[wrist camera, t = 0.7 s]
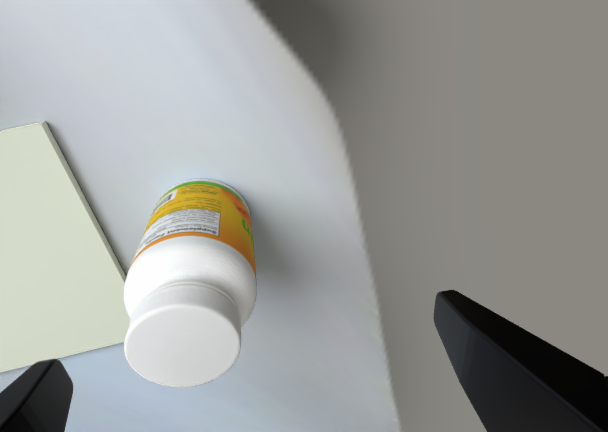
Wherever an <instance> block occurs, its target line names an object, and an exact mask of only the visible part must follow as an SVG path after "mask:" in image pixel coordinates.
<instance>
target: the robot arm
mask: <svg viewBox="0 0 608 432" xmlns="http://www.w3.org/2000/svg"><path fill="white" fill-rule="evenodd" d="M434 323H435V326H436V329H437V331H438V333H439V336H440V338H441V340H442V342H443V345H444V347H445V349H446V352H447V354H448V357H449V359H450V361H451V363H452V366H453V368H454V371H455V373H456V375H457V377H458V379H459V382H460V384H461V385H462V387H463V389H464V391H465V393H466V395H467V397H468V398H469V400H470V402H471V404H472V405H473V407H474V409H475V411H476V412H477V414H478V416H479V418H480V420H481V422H482V423H483V425H484V427H485V429H486V430H487V432H608V376H606V377H605V376H604V374H602V373H601V372H599V371H597V370H596V369H594V368H592V367H590V366H588V365H587V364H585V363H583V362H581V361H580V360H578V359H576V358H574V357H572V356H571V355H569V354H567V353H565V352H563V351H562V350H560V349H558V348H557V347H555V346H553V345H551V344H549V343H548V342H546V341H544V340H542V339H541V338H539V337H537V336H535V335H533V334H531V333H530V332H528V331H526V330H525V329H523V328H521V327H519V326H518V325H516V324H514V323H512V322H510V321H509V320H507V319H505V318H503V317H502V316H500V315H498V314H496V313H494V312H493V311H491V310H489V309H487V308H486V307H484V306H482V305H480V304H478V303H476V302H475V301H473V300H471V299H470V298H468V297H466V296H464V295H462V294H461V293H459V292H457V291H455V290H448V291H442V292H439V293H437V295H436V300H435V309H434ZM72 394H73V383H72V380H71V378H70V377H69V375H68V373H67V371H66V370H65V368H64V366H63V365H62V363H61V361H60V360H58V359H48V360H43V361H38V362H36V363H35V364H33V365H32V366H31V367H30V368H29V369H28V370H26V371H25V372H24V373H23V374H22V375H21V376H19V377H18V378H17V379H16V380H15V381H14V382H12V383H11V384H10V385H9V386H8V387H7V388H5V389H4V390H3V391H2V392H1V393H0V432H64V431H65V427H66V422H67V417H68V413H69V408H70V403H71V399H72Z"/></svg>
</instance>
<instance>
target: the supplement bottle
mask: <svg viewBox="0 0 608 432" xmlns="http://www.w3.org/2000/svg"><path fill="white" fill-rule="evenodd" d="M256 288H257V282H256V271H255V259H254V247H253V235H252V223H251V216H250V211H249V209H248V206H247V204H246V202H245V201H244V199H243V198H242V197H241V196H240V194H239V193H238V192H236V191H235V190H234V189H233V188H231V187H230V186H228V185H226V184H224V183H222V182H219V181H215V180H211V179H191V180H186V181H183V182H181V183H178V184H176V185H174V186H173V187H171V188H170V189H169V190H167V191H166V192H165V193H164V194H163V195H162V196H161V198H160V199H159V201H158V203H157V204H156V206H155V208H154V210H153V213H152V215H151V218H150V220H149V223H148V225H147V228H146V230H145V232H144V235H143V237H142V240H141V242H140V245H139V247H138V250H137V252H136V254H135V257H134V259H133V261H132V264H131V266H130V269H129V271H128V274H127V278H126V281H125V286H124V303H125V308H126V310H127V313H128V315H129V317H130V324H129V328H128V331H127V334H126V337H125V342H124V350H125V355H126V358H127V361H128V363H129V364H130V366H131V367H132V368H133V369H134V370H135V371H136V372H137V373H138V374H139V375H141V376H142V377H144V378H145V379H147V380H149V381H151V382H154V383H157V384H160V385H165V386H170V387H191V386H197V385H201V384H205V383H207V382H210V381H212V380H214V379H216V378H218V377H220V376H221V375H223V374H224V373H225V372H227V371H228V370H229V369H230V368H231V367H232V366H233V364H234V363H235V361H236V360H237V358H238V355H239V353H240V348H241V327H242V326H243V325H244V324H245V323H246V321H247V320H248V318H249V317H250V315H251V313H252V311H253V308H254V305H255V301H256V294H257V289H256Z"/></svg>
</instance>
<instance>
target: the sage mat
mask: <svg viewBox="0 0 608 432" xmlns="http://www.w3.org/2000/svg"><path fill="white" fill-rule="evenodd" d="M125 281H126V276H125V274H124V272H123V270H122V268H121V266H120V264H119V262H118V260H117V258H116V256H115V254H114V253H113V251H112V249H111V247H110V245H109V243H108V241H107V239H106V237H105V235H104V233H103V231H102V229H101V227H100V225H99V224H98V222H97V220H96V218H95V216H94V214H93V212H92V210H91V208H90V206H89V204H88V202H87V200H86V198H85V197H84V195H83V193H82V191H81V189H80V187H79V185H78V183H77V181H76V179H75V177H74V175H73V173H72V171H71V169H70V168H69V166H68V164H67V162H66V160H65V158H64V156H63V154H62V152H61V150H60V148H59V146H58V144H57V142H56V141H55V139H54V137H53V135H52V133H51V131H50V129H49V127H48V125H47V123H46V121H43V122H38V123H34V124H29V125H24V126H19V127H15V128H10V129H5V130H0V373H1V372H5V371H9V370H13V369H17V368H21V367H25V366H29V365H33V364H35V363H36V362H38V361H43V360H48V359H58V358H62V357H66V356H70V355H74V354H78V353H82V352H86V351H90V350H94V349H98V348H102V347H106V346H110V345H114V344H118V343H122V342H125V337H126V334H127V331H128V328H129V324H130V317H129V315H128V313H127V310H126V308H125V303H124V286H125Z"/></svg>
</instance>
